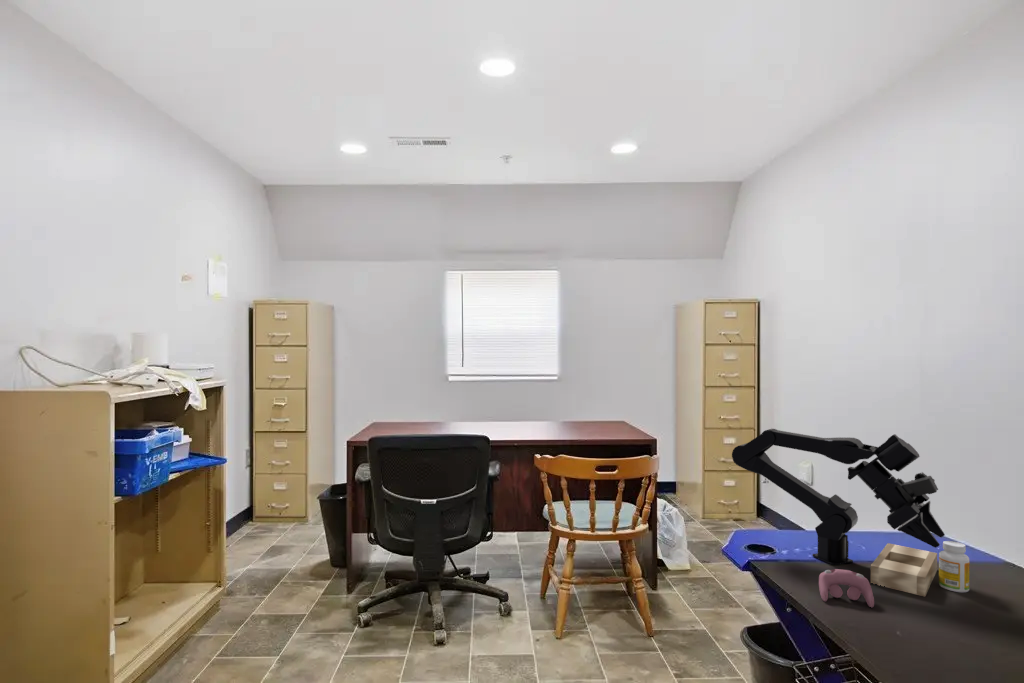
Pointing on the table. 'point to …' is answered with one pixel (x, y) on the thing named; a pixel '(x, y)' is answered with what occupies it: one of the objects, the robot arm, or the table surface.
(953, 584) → the supplement bottle
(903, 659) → the table surface
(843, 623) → the table surface
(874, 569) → the holder block
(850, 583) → the video game controller
